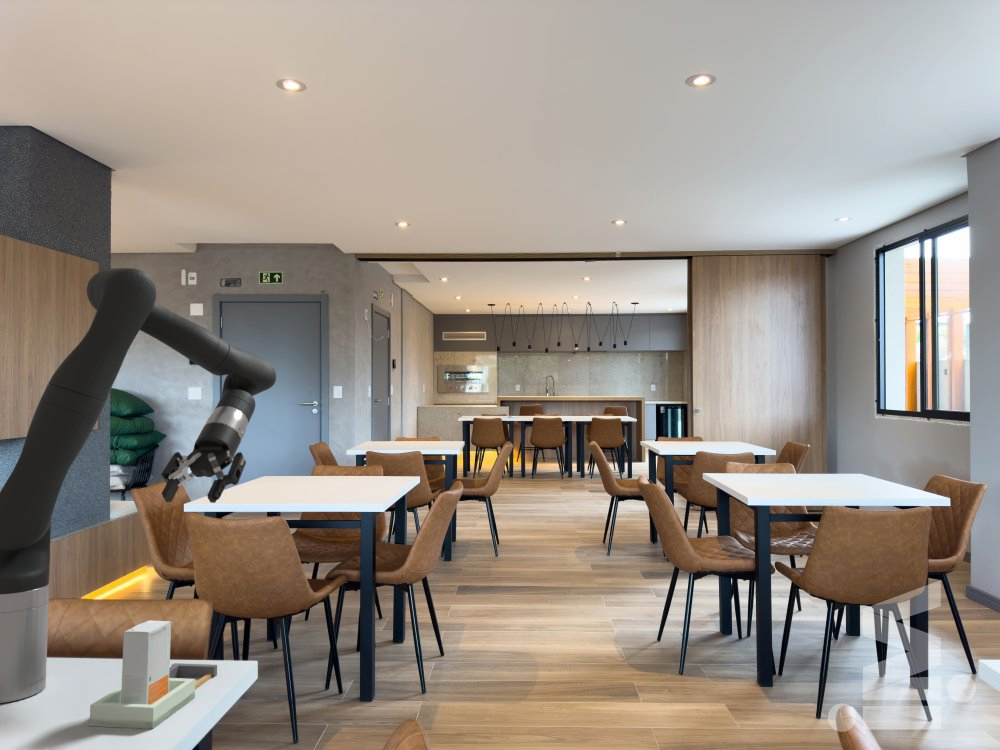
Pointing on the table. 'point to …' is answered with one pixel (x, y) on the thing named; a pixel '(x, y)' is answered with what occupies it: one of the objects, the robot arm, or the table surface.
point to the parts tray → (141, 707)
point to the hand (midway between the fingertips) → (188, 499)
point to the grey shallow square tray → (193, 671)
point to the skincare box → (146, 662)
